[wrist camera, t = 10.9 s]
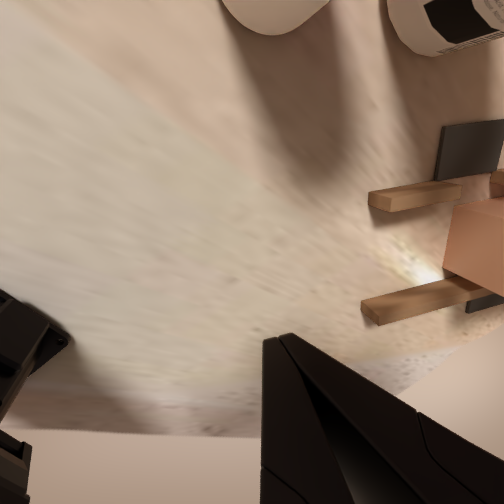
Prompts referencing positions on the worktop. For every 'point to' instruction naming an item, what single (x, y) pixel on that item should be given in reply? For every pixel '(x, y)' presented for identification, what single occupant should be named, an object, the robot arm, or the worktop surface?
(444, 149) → the lane
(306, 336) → the worktop surface
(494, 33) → the supplement can
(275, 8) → the can
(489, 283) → the brick
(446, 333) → the worktop surface
